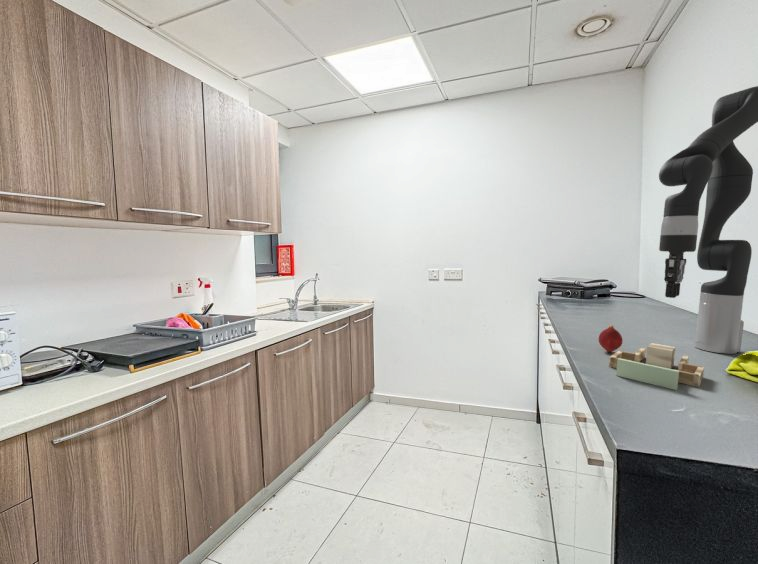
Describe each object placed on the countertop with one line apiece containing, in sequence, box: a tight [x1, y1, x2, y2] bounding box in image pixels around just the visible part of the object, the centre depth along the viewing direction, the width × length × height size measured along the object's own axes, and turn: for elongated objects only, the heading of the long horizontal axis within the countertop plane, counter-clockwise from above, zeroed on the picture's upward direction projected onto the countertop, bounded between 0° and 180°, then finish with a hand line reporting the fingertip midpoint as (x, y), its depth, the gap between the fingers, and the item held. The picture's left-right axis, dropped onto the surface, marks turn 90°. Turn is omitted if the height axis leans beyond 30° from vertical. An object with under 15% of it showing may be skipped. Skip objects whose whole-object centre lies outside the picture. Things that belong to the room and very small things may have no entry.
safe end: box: [615, 358, 679, 391], centre depth 78 cm, size 1×11×4 cm, turn 43°
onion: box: [598, 324, 623, 353], centre depth 100 cm, size 6×6×8 cm
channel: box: [608, 347, 705, 388], centre depth 86 cm, size 22×17×2 cm
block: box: [645, 342, 676, 369], centre depth 90 cm, size 5×5×5 cm
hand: (672, 296), depth 94 cm, fingers open, 5 cm apart
